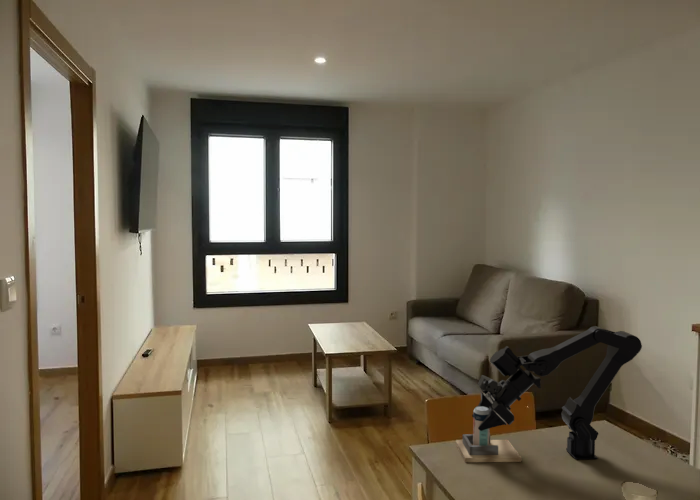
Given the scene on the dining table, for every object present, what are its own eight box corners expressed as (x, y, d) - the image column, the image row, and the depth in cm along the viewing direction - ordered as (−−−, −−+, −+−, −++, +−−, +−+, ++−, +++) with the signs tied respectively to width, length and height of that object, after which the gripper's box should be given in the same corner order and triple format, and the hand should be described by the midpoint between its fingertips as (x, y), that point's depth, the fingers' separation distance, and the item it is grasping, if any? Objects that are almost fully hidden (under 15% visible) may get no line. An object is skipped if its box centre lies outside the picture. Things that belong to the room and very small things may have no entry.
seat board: (507, 443, 158) (507, 431, 157) (521, 461, 146) (521, 448, 145) (455, 444, 157) (455, 432, 157) (465, 462, 145) (465, 449, 145)
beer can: (480, 443, 155) (481, 404, 154) (493, 449, 151) (493, 409, 150) (469, 447, 152) (469, 407, 151) (481, 453, 148) (482, 412, 148)
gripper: (488, 358, 159) (451, 393, 160) (503, 376, 141) (461, 415, 142) (513, 384, 159) (477, 418, 160) (531, 405, 141) (490, 444, 142)
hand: (476, 423), depth 151 cm, fingers open, 9 cm apart
